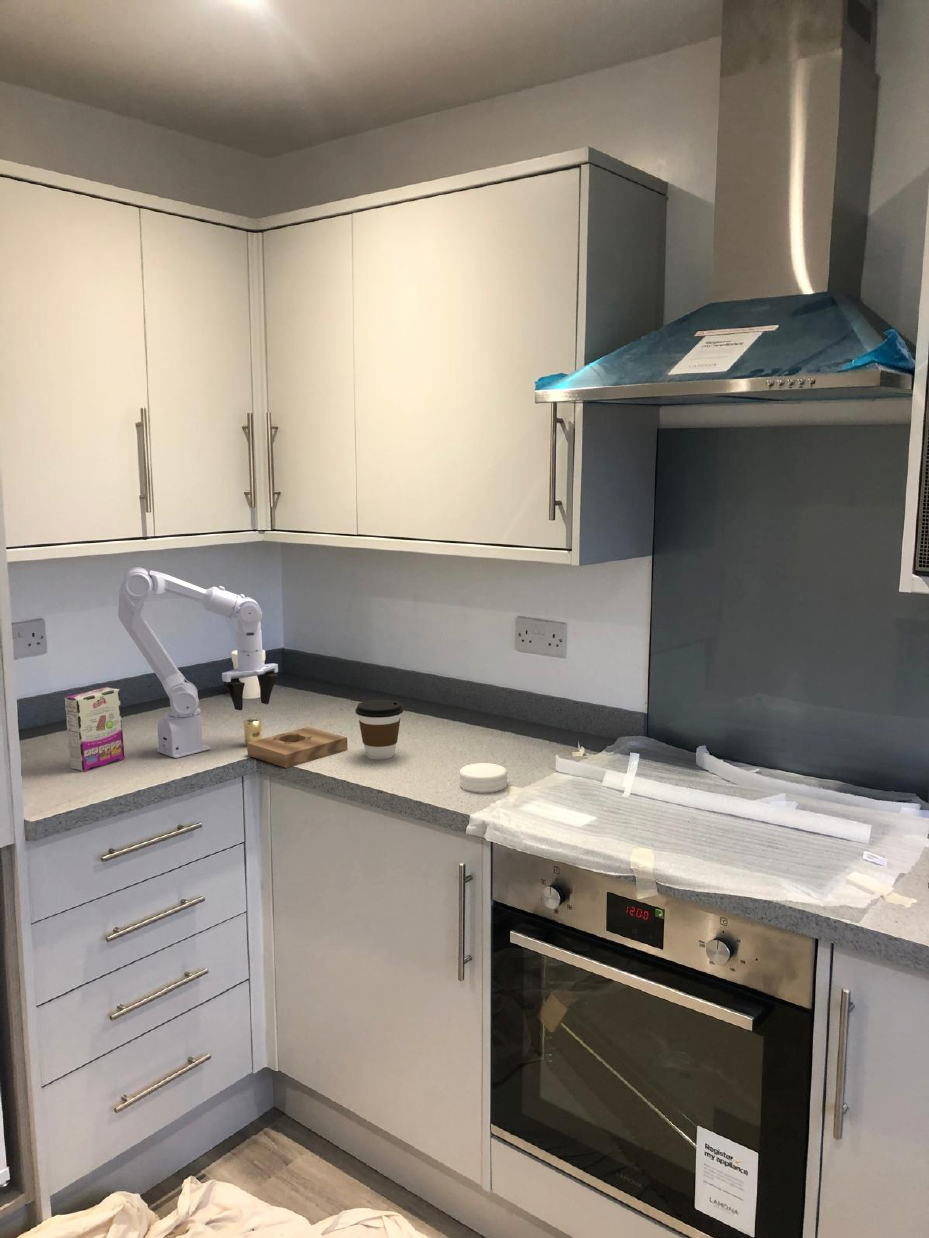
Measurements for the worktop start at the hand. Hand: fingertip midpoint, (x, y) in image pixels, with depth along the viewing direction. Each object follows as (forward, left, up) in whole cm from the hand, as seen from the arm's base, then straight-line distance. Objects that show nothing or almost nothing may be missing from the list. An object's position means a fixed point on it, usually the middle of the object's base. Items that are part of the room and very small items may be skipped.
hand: (251, 706), depth 229 cm
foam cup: (+29, +41, -10) cm, 51 cm away
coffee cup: (+14, -29, -10) cm, 34 cm away
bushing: (0, 0, -9) cm, 9 cm away
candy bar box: (-32, +14, -10) cm, 36 cm away
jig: (+3, -13, -9) cm, 16 cm away
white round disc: (+14, -60, -10) cm, 62 cm away
